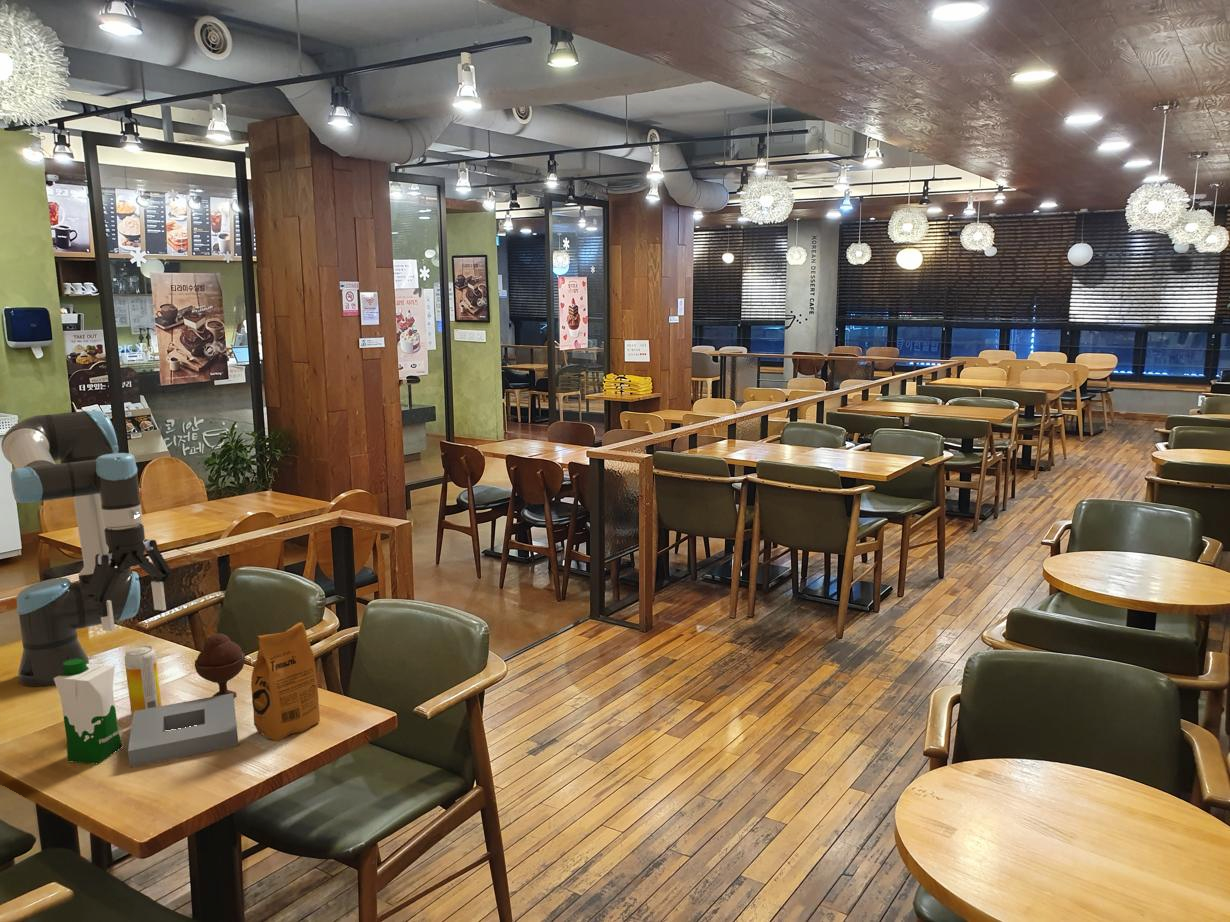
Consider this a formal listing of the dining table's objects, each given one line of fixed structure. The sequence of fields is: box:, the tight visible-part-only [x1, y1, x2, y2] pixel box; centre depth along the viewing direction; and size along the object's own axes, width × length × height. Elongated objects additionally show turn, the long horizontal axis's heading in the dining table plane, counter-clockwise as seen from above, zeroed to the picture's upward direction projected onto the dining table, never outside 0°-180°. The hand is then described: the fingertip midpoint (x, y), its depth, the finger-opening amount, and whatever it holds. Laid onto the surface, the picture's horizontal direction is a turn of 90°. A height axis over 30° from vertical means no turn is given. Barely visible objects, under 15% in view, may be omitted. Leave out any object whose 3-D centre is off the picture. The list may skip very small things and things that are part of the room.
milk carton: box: [54, 658, 123, 765], centre depth 187 cm, size 9×9×20 cm
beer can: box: [123, 645, 163, 716], centre depth 206 cm, size 6×6×15 cm
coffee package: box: [250, 622, 321, 742], centre depth 197 cm, size 10×12×22 cm
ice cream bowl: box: [194, 633, 246, 699], centre depth 213 cm, size 11×11×15 cm
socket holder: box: [127, 693, 240, 768], centre depth 196 cm, size 20×20×4 cm
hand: (135, 619), depth 203 cm, fingers open, 13 cm apart
